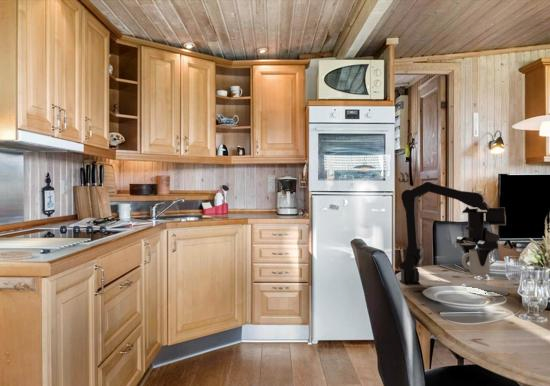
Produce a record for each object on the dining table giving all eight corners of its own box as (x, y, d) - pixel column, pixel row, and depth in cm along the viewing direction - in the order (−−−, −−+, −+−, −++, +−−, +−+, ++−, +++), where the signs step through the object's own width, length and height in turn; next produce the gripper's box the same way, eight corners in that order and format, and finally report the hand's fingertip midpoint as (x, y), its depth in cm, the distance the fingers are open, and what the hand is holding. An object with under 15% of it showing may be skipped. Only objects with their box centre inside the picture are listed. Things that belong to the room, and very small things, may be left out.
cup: (491, 275, 157) (491, 251, 157) (463, 274, 160) (463, 251, 160) (487, 271, 164) (487, 249, 164) (460, 270, 167) (460, 248, 167)
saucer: (480, 298, 152) (480, 294, 152) (457, 288, 167) (457, 285, 167) (517, 296, 154) (517, 293, 154) (491, 286, 169) (491, 284, 169)
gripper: (511, 225, 153) (511, 267, 153) (480, 222, 172) (481, 259, 172) (483, 226, 152) (484, 269, 152) (455, 222, 170) (456, 260, 170)
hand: (476, 264), depth 161 cm, fingers closed on cup, 7 cm apart
